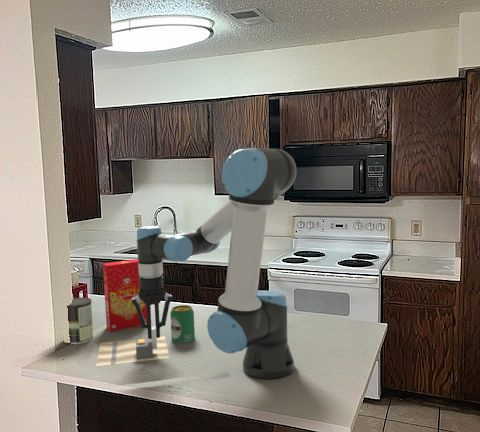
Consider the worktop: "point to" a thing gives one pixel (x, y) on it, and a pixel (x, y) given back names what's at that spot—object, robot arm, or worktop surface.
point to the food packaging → (122, 295)
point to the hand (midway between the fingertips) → (154, 347)
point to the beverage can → (182, 324)
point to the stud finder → (144, 348)
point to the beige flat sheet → (127, 352)
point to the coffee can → (80, 320)
